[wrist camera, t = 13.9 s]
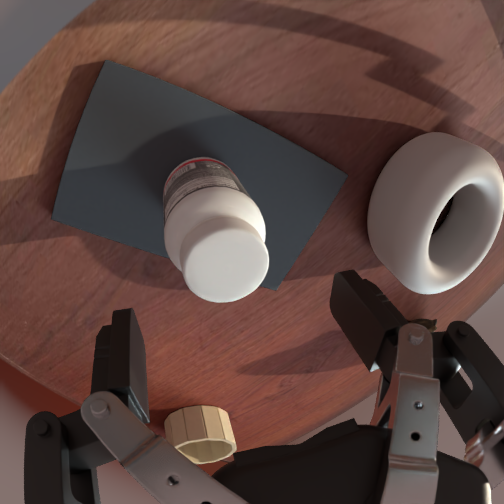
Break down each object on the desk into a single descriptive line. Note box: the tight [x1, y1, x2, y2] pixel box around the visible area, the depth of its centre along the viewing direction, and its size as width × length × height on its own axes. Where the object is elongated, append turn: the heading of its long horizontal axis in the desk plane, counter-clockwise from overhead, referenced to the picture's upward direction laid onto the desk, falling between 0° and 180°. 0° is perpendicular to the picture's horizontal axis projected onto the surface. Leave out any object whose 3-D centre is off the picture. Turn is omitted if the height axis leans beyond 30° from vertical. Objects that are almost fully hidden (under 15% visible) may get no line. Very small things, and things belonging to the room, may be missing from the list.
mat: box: [51, 60, 348, 291], centre depth 22 cm, size 20×12×1 cm, turn 61°
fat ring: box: [367, 132, 504, 294], centre depth 26 cm, size 15×15×7 cm
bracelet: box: [164, 405, 237, 464], centre depth 37 cm, size 9×9×5 cm
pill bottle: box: [163, 157, 269, 302], centre depth 18 cm, size 5×5×10 cm
